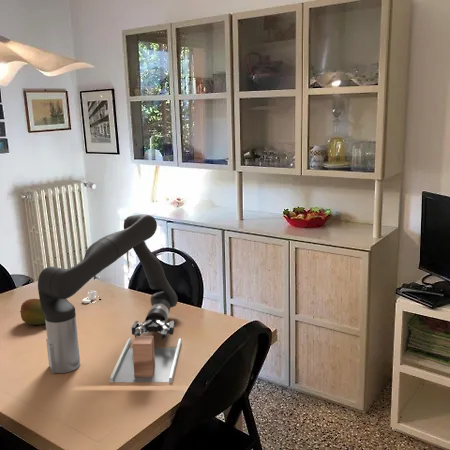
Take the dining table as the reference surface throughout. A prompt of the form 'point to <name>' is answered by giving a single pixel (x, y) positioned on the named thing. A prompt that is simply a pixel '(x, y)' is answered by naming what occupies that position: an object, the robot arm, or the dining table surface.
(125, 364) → the track
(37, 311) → the fruit
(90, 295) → the teacup and saucer
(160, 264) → the robot arm
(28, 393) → the dining table surface
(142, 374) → the terracotta block
